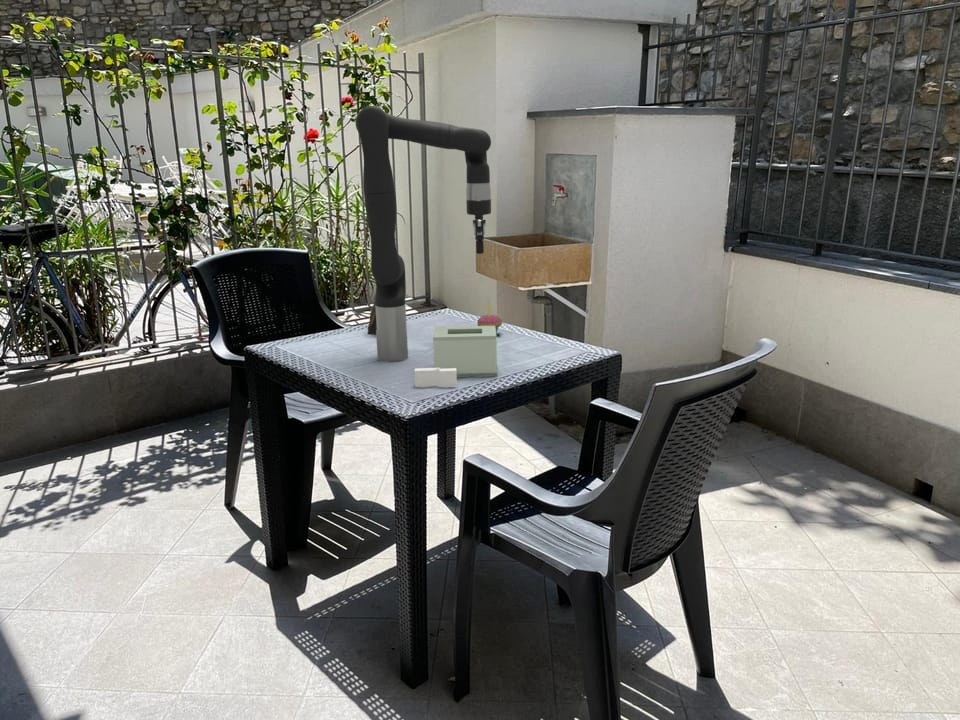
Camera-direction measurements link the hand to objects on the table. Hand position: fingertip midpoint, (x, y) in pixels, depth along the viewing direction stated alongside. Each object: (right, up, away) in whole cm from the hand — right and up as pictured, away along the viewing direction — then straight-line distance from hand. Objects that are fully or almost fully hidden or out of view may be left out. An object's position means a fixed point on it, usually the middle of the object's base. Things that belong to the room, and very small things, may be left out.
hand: (479, 251), depth 231 cm
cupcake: (+4, -25, +28) cm, 38 cm away
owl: (-34, -24, +35) cm, 54 cm away
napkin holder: (-12, -42, -24) cm, 50 cm away
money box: (-4, -37, -11) cm, 39 cm away
